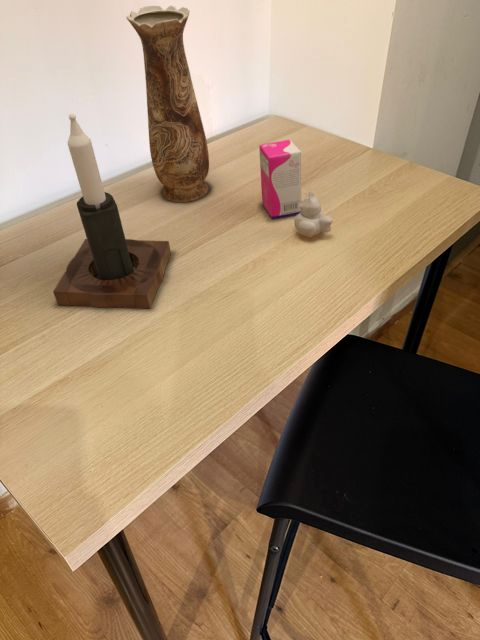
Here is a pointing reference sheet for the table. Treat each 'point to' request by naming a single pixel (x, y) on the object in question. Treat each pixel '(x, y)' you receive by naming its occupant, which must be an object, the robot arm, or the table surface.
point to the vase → (172, 104)
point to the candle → (98, 210)
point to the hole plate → (119, 292)
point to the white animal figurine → (312, 217)
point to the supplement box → (280, 178)
